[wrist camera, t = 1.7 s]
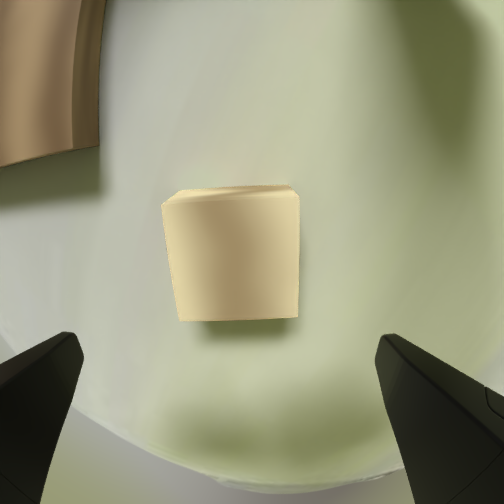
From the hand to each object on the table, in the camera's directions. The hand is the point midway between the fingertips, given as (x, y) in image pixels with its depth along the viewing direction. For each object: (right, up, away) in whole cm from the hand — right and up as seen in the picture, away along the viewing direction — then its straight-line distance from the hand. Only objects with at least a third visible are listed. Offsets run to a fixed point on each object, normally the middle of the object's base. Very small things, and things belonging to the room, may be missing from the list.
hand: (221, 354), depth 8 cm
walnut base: (-15, +16, +4) cm, 23 cm away
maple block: (0, +4, +10) cm, 10 cm away
